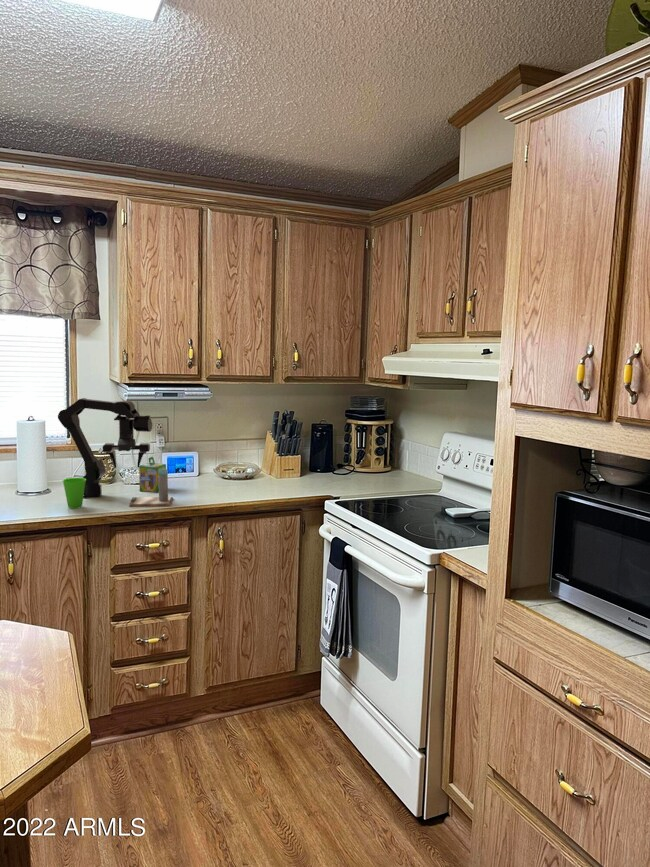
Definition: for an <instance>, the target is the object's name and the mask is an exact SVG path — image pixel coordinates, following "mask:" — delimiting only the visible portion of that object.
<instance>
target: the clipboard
mask: <svg viewBox="0 0 650 867" xmlns="http://www.w3.org/2000/svg"><path fill="white" fill-rule="evenodd" d="M172 502H173V496H168V501H165V502H161V501H159V496H141V497H140V496H139V497H138V496H137V497H135V496H133V497H131V499H130V503H129V506H128V507H129V508H131V507H133V508H135V507H142V508H143V507H144V506H145V507H146V508H147V507H171V505H172ZM134 506H135V507H134Z"/></svg>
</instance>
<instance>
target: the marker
mask: <svg viewBox="0 0 650 867" xmlns="http://www.w3.org/2000/svg"><path fill="white" fill-rule="evenodd" d="M168 472H169V470H168V468H166V469H159V470H158V475H159V492H158V497H159V501H161V502H165V501H168V497H169V484H168V483H169V482H168V481H169V480H168V476H169V473H168Z"/></svg>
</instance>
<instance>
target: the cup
mask: <svg viewBox="0 0 650 867" xmlns="http://www.w3.org/2000/svg"><path fill="white" fill-rule="evenodd" d="M61 482H62V483H63V488H64V492H65V497H66V503H67V507H68V508H69V509H80V508H82V507H81V506H83V501H84V498H83V496H84V489H85V482H86V479H85V478H83V477H68V478H64V479H62V481H61ZM79 507H80V508H79Z"/></svg>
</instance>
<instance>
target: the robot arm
mask: <svg viewBox="0 0 650 867" xmlns="http://www.w3.org/2000/svg"><path fill="white" fill-rule="evenodd" d="M85 409H88V410H98V411H107V412H111V413H114V414H116V417H114V418H113V420H114V421H118V424H119V427H118V429H119V431H118V434H119V435H118V436H119V437H118V440H117V445H116V444H115V443H112V442H111V443H109V442H107V443H106V442H105V444H102V452H104V453H105V454H106V455H107V454H108V455H109V457H110V458H111V462H112V463H113V466H114V469H116V468H117V466H118V465H117V456H116V454H117V453H116V450H118V452H122V451H123V452H125V451H126V452H130V451H131V450H132V451H133V450H134V451H135V450H136V451H137V450H138V454H137V455H138V458H137V468H138V469H139V466H141V462H142V459H143V457H144V455H145V454H147V452H148V453H149V452H150V451H151V444H150V443H149V442H148V443H143V442H142V443H139V444H138V445H137V443H136V442H137V441H136V438H134V434H135V433H134V431H136V432H143V433H146V432H149V433H151V432H152V430H153V422H152V418H151V415H140V414H139V412H138V410H137V409H136V406H135V404H134V402H133V401H131V400H120V401H119V400H118V401H108V400H99V399H88V398H86V397H83V398H79V399H77V400H76V401H75V402H73V404H70V405H69V406H68V407H66V408H65V409H61V410H60V411H59V412H58V415H57V419H58V421H59V422H60V424H61V425H62V427H64V429H66V431H67V430H68V432H69V434H70V436H71V437H72V440H73V441H74V444H75V446H76V447H77V448H76V449H77V450H78V452H79V454H80V455H81V457H82V459H83V462H84V470H85V475H84V476H82V478H85V479H86V482H85V489H84V496H83V499H86V498H87V499H89V498H90V499H91V498H92V497H99V496H100V497H101V495H102V491H103V490H102V487H103V486H102V484H101V480H102V478H103V477H104V476H105V475H106V472H107V470H106V468H107V466H106V465H105V464H104V462H103V459H102V458H100V459H98V458H97V457H96V456H95V454H94V453H93V450H92V447H90V444H89V442H88V440H87V438H86V436H85V435H84V432H83V430H82V428H81V423H80V414H81V413H82V412H84V410H85ZM100 497H99V498H100Z"/></svg>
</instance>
